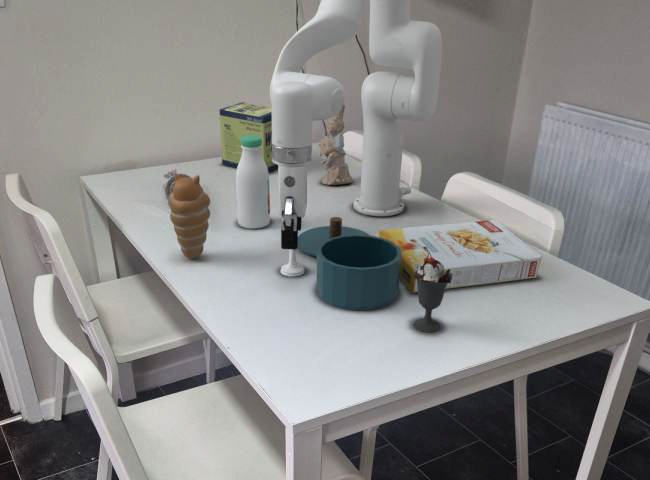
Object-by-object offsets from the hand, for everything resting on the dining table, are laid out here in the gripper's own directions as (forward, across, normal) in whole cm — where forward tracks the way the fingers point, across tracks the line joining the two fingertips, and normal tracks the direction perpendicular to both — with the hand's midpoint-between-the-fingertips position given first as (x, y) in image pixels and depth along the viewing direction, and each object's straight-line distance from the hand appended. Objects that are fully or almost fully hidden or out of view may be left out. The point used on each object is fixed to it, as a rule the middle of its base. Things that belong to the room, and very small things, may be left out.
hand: (291, 239), depth 144 cm
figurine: (+7, +57, -7) cm, 58 cm away
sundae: (+7, -20, -26) cm, 34 cm away
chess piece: (+7, 0, 0) cm, 7 cm away
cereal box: (+7, +6, -34) cm, 35 cm away
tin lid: (+6, +14, -9) cm, 18 cm away
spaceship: (+7, +36, +30) cm, 47 cm away
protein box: (+7, +70, +17) cm, 72 cm away
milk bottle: (+7, +26, +11) cm, 29 cm away
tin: (+7, -7, -14) cm, 17 cm away
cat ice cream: (+7, +5, +22) cm, 24 cm away
